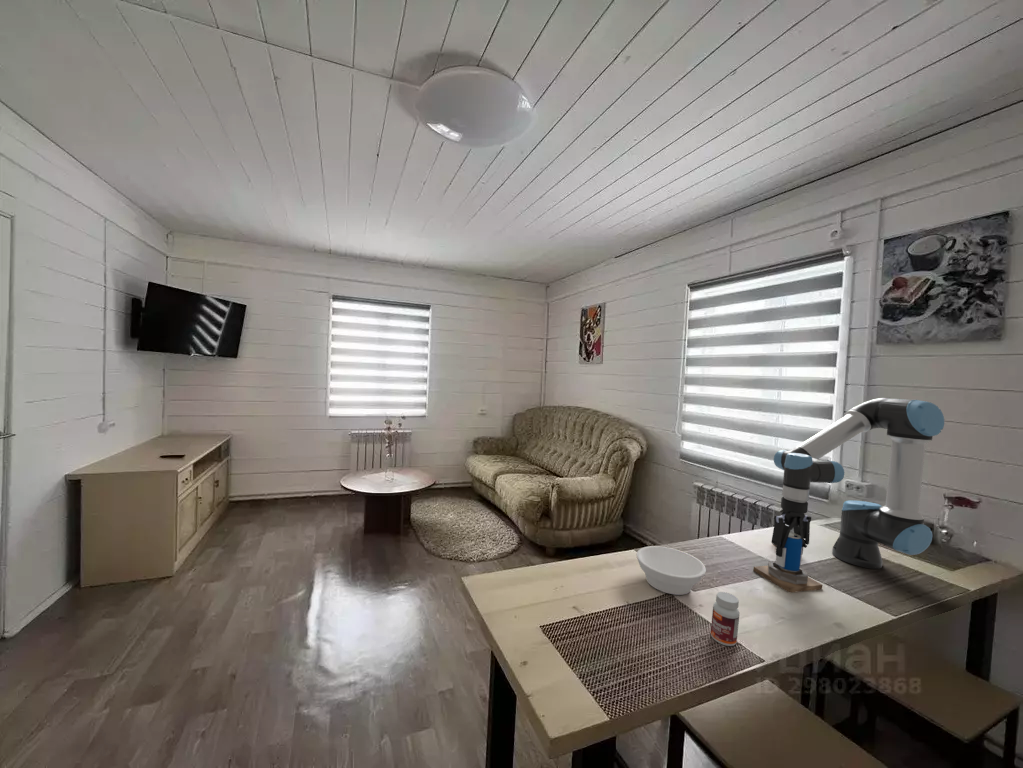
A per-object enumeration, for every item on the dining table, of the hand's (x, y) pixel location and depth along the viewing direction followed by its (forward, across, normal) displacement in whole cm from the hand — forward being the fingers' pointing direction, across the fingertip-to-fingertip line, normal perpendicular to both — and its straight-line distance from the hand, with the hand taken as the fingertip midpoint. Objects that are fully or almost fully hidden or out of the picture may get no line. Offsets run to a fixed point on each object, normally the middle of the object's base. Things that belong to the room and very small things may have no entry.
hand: (788, 564), depth 140 cm
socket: (+5, 0, 0) cm, 5 cm away
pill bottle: (+6, +47, +23) cm, 53 cm away
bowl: (+6, +45, -3) cm, 46 cm away
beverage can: (+2, 0, 0) cm, 2 cm away
